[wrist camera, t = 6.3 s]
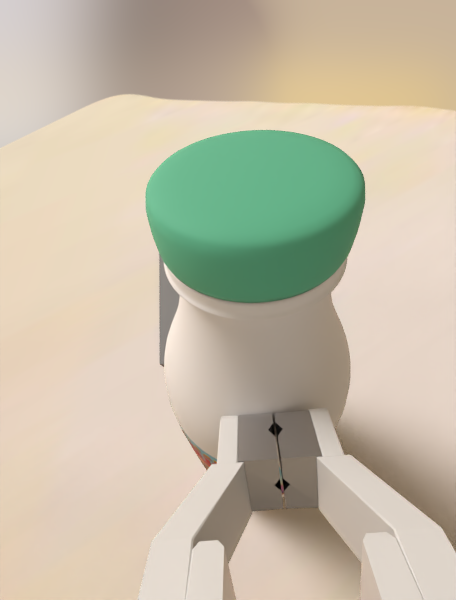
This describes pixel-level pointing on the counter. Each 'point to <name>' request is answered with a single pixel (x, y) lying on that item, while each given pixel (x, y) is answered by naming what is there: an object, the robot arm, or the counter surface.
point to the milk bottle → (254, 276)
